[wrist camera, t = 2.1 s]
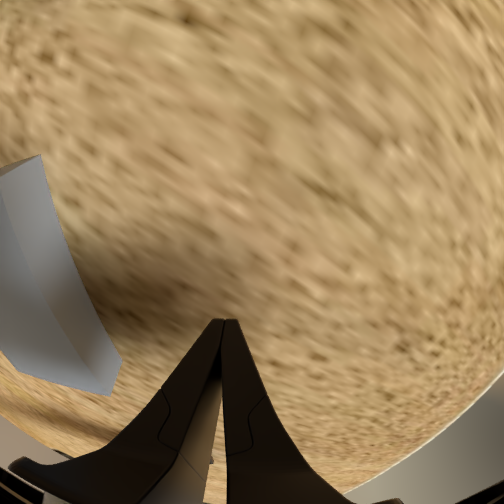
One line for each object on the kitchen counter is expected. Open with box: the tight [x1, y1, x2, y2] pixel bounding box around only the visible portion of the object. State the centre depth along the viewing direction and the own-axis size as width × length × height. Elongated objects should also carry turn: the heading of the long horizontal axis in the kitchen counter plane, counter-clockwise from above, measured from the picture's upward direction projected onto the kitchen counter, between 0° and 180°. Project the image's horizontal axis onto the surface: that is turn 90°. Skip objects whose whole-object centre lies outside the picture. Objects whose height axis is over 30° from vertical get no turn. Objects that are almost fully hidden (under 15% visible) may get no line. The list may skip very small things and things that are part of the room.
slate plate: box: [0, 154, 122, 396], centre depth 11 cm, size 12×8×3 cm, turn 2°
